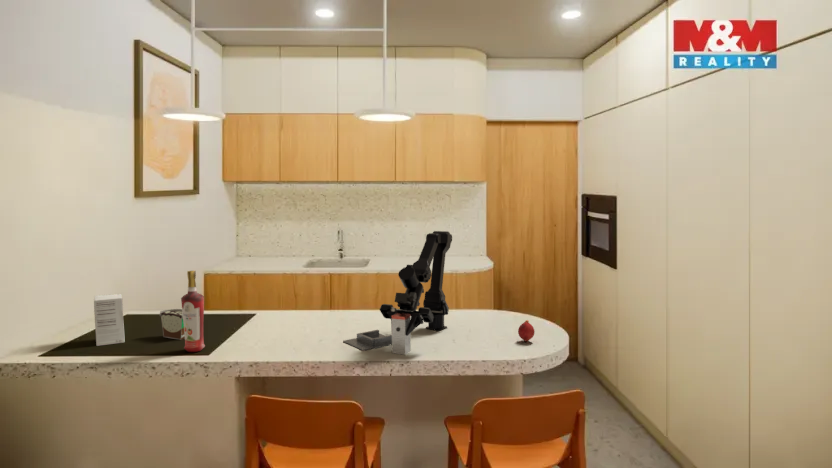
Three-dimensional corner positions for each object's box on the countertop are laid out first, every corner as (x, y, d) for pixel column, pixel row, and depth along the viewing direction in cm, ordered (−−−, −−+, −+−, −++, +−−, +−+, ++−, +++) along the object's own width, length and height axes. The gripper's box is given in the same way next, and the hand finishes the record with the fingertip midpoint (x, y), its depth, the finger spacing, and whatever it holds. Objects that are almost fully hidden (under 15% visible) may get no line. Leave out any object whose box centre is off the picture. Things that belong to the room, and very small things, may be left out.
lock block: (397, 349, 191) (397, 312, 190) (410, 350, 189) (410, 314, 188) (391, 353, 187) (391, 315, 186) (404, 354, 185) (404, 317, 184)
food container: (196, 336, 210) (195, 310, 209) (184, 340, 204) (182, 313, 203) (173, 332, 215) (172, 307, 214) (160, 336, 209) (159, 310, 208)
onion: (524, 344, 196) (525, 322, 195) (514, 340, 201) (515, 319, 200) (537, 342, 199) (537, 320, 198) (527, 338, 204) (527, 317, 203)
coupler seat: (379, 334, 210) (379, 327, 210) (400, 342, 199) (400, 335, 199) (343, 341, 201) (342, 334, 200) (363, 350, 190) (363, 343, 189)
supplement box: (96, 339, 205) (93, 295, 204) (123, 336, 210) (121, 293, 208) (96, 346, 197) (93, 300, 195) (125, 342, 201) (122, 297, 200)
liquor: (179, 353, 188) (175, 272, 185) (189, 347, 195) (186, 269, 193) (200, 353, 187) (197, 272, 185) (209, 347, 195) (206, 269, 192)
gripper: (381, 281, 193) (367, 319, 184) (430, 285, 186) (417, 324, 177) (391, 299, 201) (378, 336, 192) (438, 303, 194) (427, 341, 185)
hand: (399, 334), depth 186 cm, fingers closed on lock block, 5 cm apart
